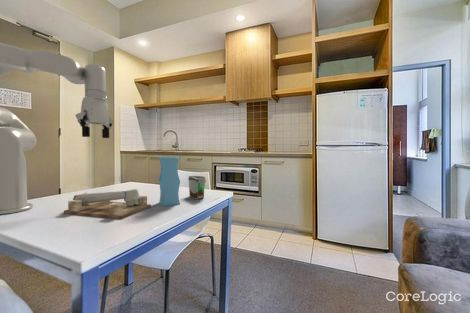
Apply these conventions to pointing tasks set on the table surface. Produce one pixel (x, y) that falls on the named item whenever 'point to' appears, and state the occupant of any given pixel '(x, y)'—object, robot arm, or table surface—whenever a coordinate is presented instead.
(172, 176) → the vase
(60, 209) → the table surface
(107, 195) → the white electric toothbrush
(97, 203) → the v block cradle
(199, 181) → the food container
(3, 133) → the robot arm
